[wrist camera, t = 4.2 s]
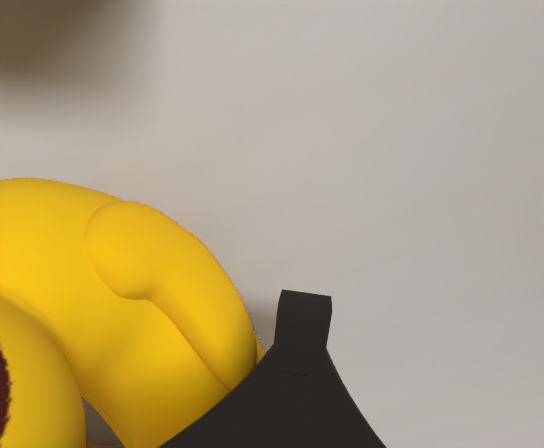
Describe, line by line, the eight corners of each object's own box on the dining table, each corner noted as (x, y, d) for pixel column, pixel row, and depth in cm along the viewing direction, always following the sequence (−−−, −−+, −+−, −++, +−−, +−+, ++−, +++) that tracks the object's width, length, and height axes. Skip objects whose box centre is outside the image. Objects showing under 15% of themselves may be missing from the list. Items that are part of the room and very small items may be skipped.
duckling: (-61, 186, 14) (-798, 508, 5) (13, 43, 12) (-1080, 171, 3) (225, 406, 16) (58, 918, 7) (337, 320, 14) (299, 914, 5)
